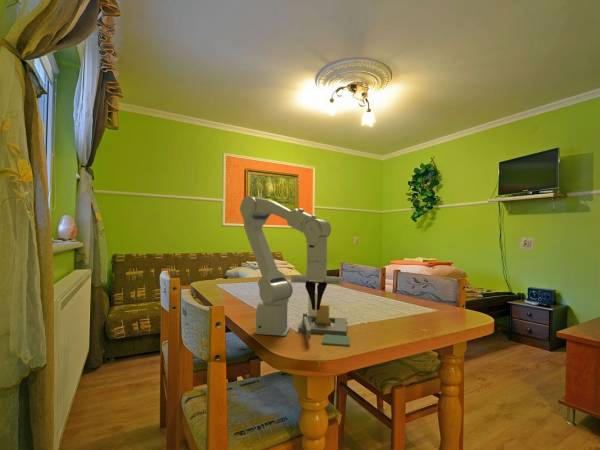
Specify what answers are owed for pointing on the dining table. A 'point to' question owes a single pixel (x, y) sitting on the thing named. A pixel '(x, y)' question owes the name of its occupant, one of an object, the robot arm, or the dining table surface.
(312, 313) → the white wedge bracket
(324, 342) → the pad
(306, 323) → the retaining bar
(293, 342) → the dining table surface
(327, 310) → the plug
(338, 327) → the dock plate
